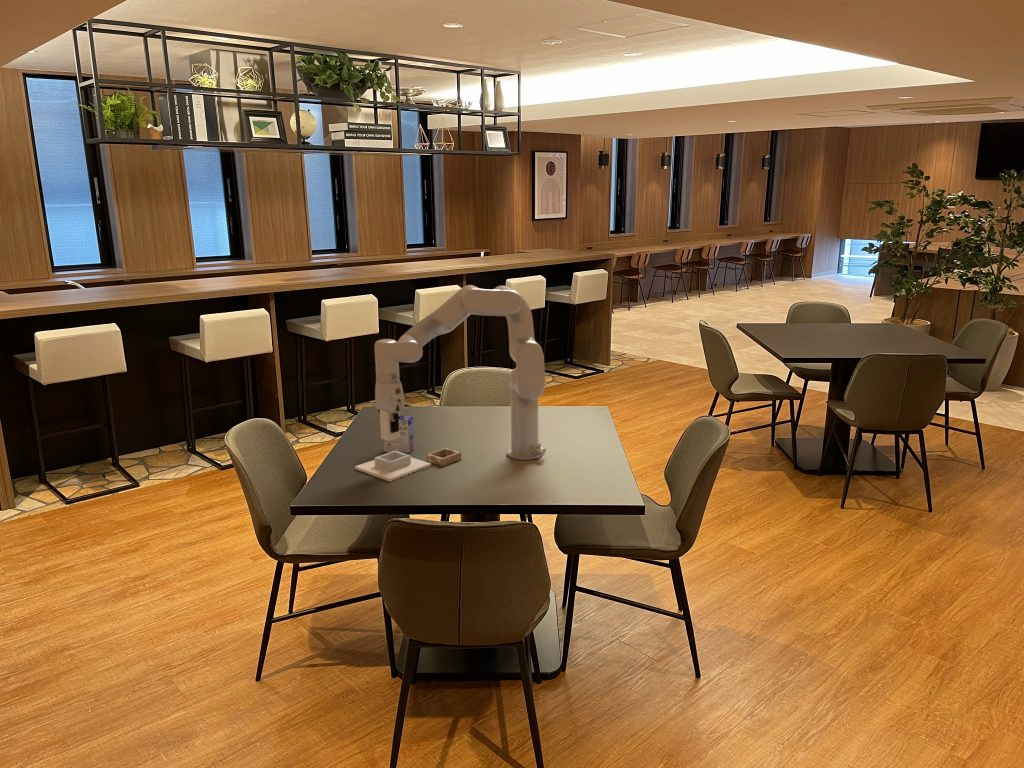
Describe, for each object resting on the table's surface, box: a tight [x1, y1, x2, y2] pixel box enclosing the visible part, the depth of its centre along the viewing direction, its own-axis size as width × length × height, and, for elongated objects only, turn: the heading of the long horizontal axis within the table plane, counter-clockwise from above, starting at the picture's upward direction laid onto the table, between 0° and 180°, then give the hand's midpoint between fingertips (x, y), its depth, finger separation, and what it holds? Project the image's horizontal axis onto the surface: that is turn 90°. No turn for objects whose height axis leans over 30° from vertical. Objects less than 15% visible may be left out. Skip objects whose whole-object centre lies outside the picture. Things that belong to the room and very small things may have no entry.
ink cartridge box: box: [383, 415, 415, 454], centre depth 277 cm, size 10×6×14 cm, turn 78°
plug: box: [379, 409, 400, 441], centre depth 257 cm, size 4×5×11 cm
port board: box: [354, 451, 432, 482], centre depth 261 cm, size 18×18×4 cm
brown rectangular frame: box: [425, 447, 462, 467], centre depth 267 cm, size 8×9×2 cm
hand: (390, 429), depth 258 cm, fingers closed on plug, 4 cm apart
